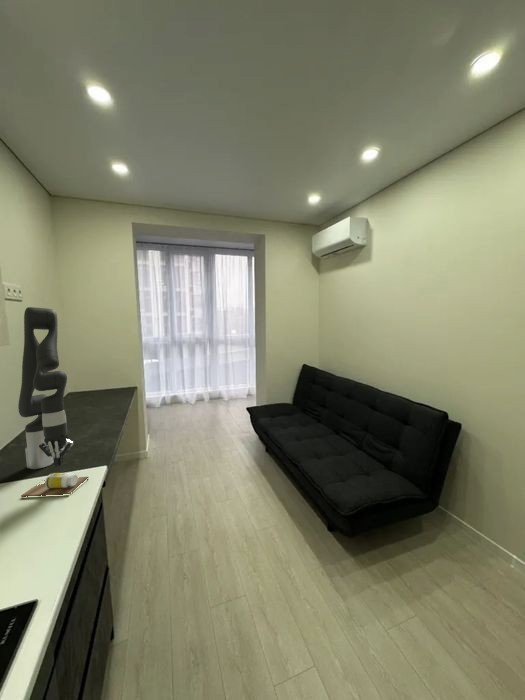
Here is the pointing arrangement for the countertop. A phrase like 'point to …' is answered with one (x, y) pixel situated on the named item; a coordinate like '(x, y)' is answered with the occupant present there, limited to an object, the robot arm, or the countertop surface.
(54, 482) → the supplement bottle
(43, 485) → the walnut board
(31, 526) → the countertop surface
